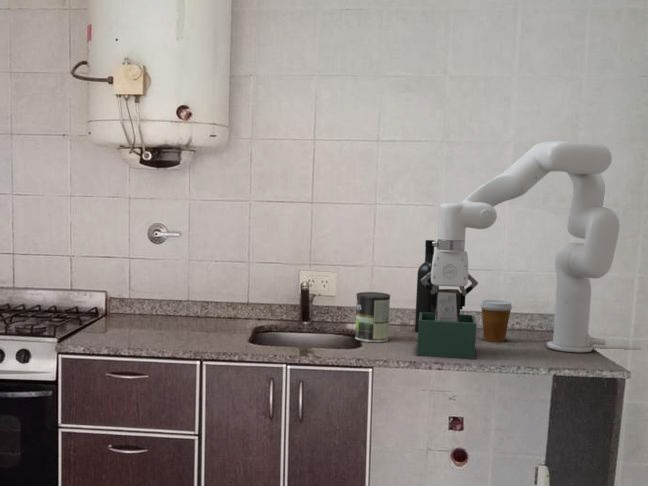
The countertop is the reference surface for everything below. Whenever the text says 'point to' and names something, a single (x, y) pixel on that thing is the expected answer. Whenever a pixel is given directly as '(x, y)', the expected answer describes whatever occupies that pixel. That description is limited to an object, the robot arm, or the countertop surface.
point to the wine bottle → (422, 292)
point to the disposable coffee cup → (495, 319)
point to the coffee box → (448, 305)
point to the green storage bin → (446, 336)
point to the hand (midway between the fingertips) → (447, 307)
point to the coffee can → (372, 316)
